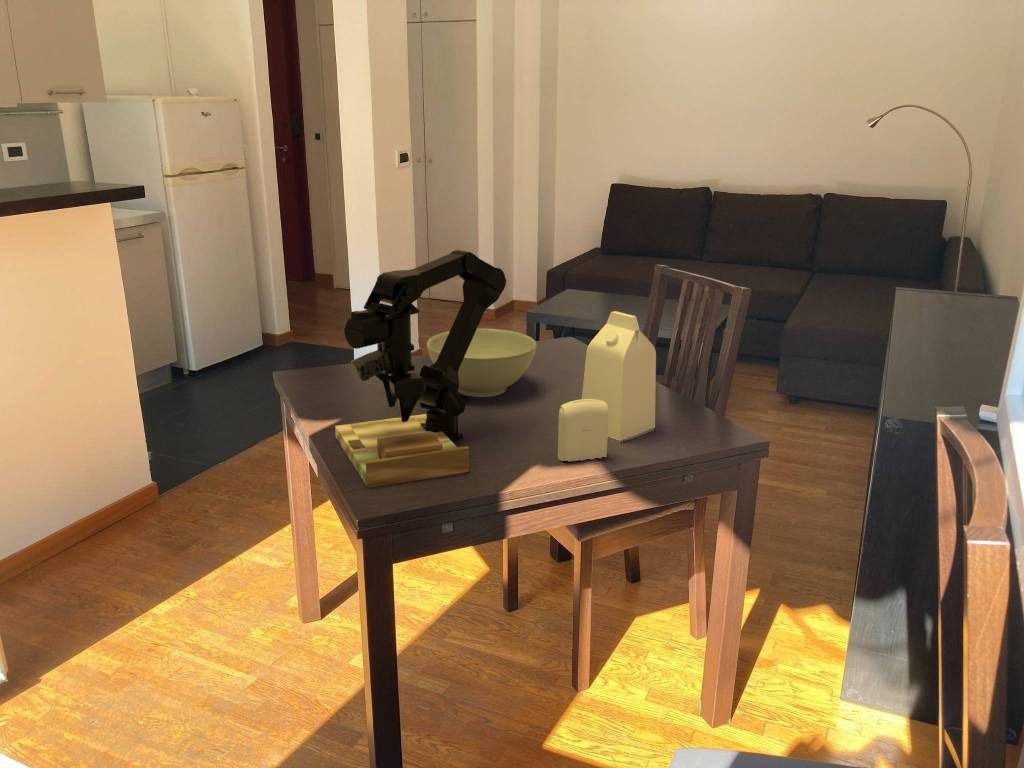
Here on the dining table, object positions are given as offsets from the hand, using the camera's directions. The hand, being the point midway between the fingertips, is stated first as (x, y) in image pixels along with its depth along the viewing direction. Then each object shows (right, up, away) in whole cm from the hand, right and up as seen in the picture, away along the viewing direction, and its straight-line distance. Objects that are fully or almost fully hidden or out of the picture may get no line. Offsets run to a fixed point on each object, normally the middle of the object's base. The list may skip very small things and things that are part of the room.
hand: (397, 414), depth 172 cm
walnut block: (+3, -8, -6) cm, 11 cm away
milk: (+46, -4, +18) cm, 49 cm away
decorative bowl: (+15, +4, +42) cm, 45 cm away
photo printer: (+37, -9, +3) cm, 38 cm away
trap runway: (0, -8, +3) cm, 9 cm away
